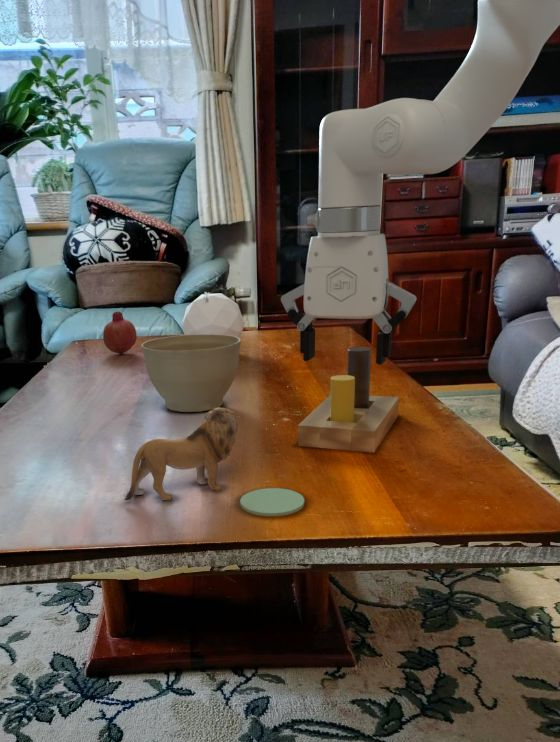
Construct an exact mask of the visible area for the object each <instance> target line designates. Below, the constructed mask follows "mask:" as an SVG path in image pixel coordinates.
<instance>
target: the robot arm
mask: <svg viewBox="0 0 560 742" xmlns="http://www.w3.org/2000/svg"><path fill="white" fill-rule="evenodd" d="M559 26H560V0H477V24H476V31H475V35H474V39H473V41H472V44H471V45H470V46H471V47H470V49H469V51H468V53H467V54H466V57H465V58H464V60H463V62H462V63H461V65H460V66H459V68H458V69H457V70H456V72H455V73H454V75H453V76H452V77H451V78H450V80H449V81H448V82H447V84H446V85H445V86H444V87H443V89H441V91H440V92H439V93H438V95H437V96H435V99H434V100H428V99H418V98H413V97H411V98H410V97H400V98H394V99H390V100H387V101H384V102H381V103H378V104H376V105H373V106H370V107H366V108H349V109H342V110H341V109H340V110H336V111H333V112H330V113H328V114H326V115H325V116H323V118H322V120H321V122H320V125H319V137H318V138H319V139H318V141H319V143H318V145H319V146H318V149H319V151H318V201H317V203H318V204H317V205H318V206H317V209H316V212H315V213H313V214H308V215H307V216H306V225H307V227H313V228H315V229H316V232H317V235H315V236H311V237H310V240H309V241H310V242H309V245H308V252H307V257H306V265H305V273H304V274H305V275H304V283H302V284H301V285H299V286H297V287H296V288H293V289H292V290H289V291H288V292H286V293H284V294H283V295H282V296H280V302H281V304H282V305H283V308H284V310H285V311H286V313H287V314H286V315H287V317H288V318H289V319H290V321H291V322H292V323H293V324H294V325H295V326H296V328H297V330H298V331H299V334H300V335H299V352H300V354H302V355H303V358H302V360H303V362H309V361H310V360H312V359H313V358H314V357H315V356H316V329H315V327H313V326H314V325H313V324H314V323H315V322H316V320H318V319H338V320H339V319H340V320H344V319H345V320H346V319H347V320H368V319H372V320H373V321H374V322H375V323H376V325H377V326H378V328H379V332H378V333H377V334H376V335H377V336H376V350H375V351H376V353H375V364H377V365H383V364H384V363H385V362H386V360H387V358H390V356H391V353H392V339H393V338H392V337H393V330H394V329H395V328H397V326H399V324H400V323H402V322H403V321H404V320H405V319H406V318H408V315H409V313H410V311H411V310H412V309H413V307H414V305H415V304H416V301H417V299H418V298H417V296H416V295H415V294H413V293H412V292H409V291H408V290H406V289H404V288H402V287H401V286H398V285H397V284H395V283H393V282H391V281H389V262H388V261H389V259H388V247H387V241H386V235H385V233H381V232H380V231H381V230H380V228H381V211H382V209H381V208H382V207H381V204H382V194H383V193H382V192H383V190H382V189H383V175H397V176H399V175H400V176H402V175H403V176H405V175H407V176H408V175H434V174H439V173H441V172H444V171H446V170H448V169H450V168H451V167H453V166H454V165H456V164H457V163H459V161H460V160H462V159H463V158H464V157H465V156H466V155H467V154H468V153H469V152H470V151H471V150H472V149H473V147H475V145H476V144H477V143H478V142H479V141H480V140H481V139H482V138H483V136H485V134H486V133H487V132H488V131H490V129H491V127H493V125H494V124H495V123H496V122H497V121H498V119H499V118H500V117H501V116H502V115H503V114H504V112H505V111H506V109H508V107H509V106H510V104H512V101H513V100H514V98H515V97H516V95H517V94H518V92H519V90H520V89H521V87H522V85H523V84H524V82H525V80H526V78H527V77H528V75H529V73H530V72H531V71H532V68H533V67H534V65H535V63H536V61H537V59H538V57H539V55H540V53H541V51H542V49H543V47H544V45H545V43H546V42H547V41H548V40H549V38H550V37H551V36H552V35H553V33H554V32H555V31H556V30H557V28H558V27H559ZM389 296H390V297H391V298H394V299H395V300H397V301H399V302H400V307H399V308H398V310H397V312H396V313H395V314H393V316H391V315H390V314H389V313H388V312H387V311H386V310H387V307H388V302H389ZM301 297H303V311H304V313H303V312H302V311H301V310H300V309H299V308H298V307H297V303H296V300H297V299H299V298H301Z"/></svg>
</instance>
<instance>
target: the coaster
mask: <svg viewBox="0 0 560 742" xmlns="http://www.w3.org/2000/svg"><path fill="white" fill-rule="evenodd" d="M239 505H240V507H241V509H242V510H244V511H245V512H247V513H249V514H252V515H255V516H261V517H281V516H282V517H283V516H289V515H292V514H295V513H297V512H299V511H300V510H302V509H303V508H304V506H305V497H304V496H303V495H302V494H301V493H299V492H298V491H294V490H292V489H287V488H279V487H266V488H260V489H259V488H258V489H255V490H252V491H248V492H247V493H245V494H244V495H242V496H241V498H240V500H239Z"/></svg>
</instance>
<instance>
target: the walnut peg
mask: <svg viewBox="0 0 560 742" xmlns="http://www.w3.org/2000/svg"><path fill="white" fill-rule="evenodd" d="M371 359H372V349H371V348H370V347H368V346H353V347H349V348H347V363H346V366H347V367H346V375H350V376H354V377H355V395H354V408H365V409H369V396H370V388H371V387H370V386H371V384H370V383H371V361H372V360H371Z"/></svg>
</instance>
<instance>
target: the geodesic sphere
mask: <svg viewBox="0 0 560 742" xmlns="http://www.w3.org/2000/svg"><path fill="white" fill-rule="evenodd" d="M244 327H245V320H244V317H243V314H242V312H241V309H240V306H239V304H238V303H236V302H235V301H234V300H233V299H231V298H229V297H228V296H226V295H225V294H224V293H222V292H221V293H220V292H219V293H212V292H209V291H208V292H207V291H204V293H202V294H200V295H199V296H198V297H197V298H195V299H194V300H193V301H191V303H189V304H188V305H187V306H186V307H185V311H184V315H183V319H182V323H181V329H182V332H183V335H191V334H220V335H231V336H236V337H238V338H240V339H241V337H242V335H243V330H244Z"/></svg>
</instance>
